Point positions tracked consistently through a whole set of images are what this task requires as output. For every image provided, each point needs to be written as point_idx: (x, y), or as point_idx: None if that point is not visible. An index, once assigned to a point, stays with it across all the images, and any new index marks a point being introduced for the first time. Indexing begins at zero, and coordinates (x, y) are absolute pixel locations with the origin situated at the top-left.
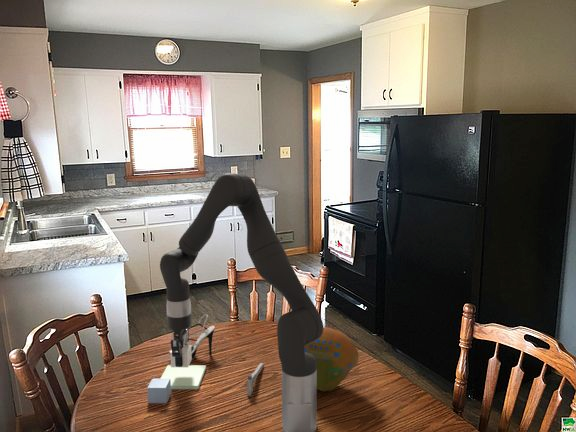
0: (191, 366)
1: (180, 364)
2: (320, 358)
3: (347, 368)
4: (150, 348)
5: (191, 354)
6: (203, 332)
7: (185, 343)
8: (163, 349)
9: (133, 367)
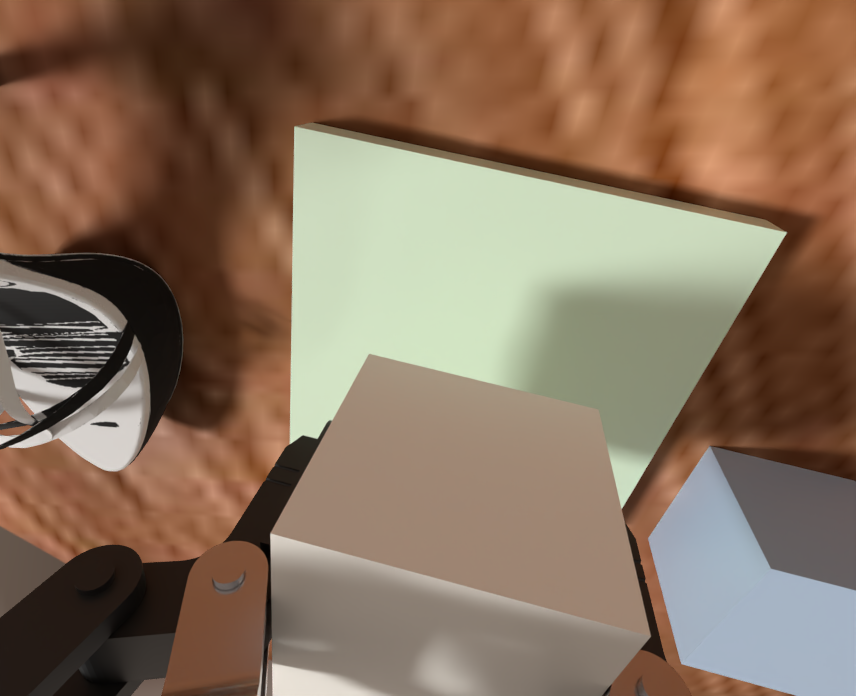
0: (314, 291)
1: (632, 539)
2: None
3: None
4: (50, 511)
5: (346, 398)
6: None
7: (263, 644)
8: (38, 453)
9: None
